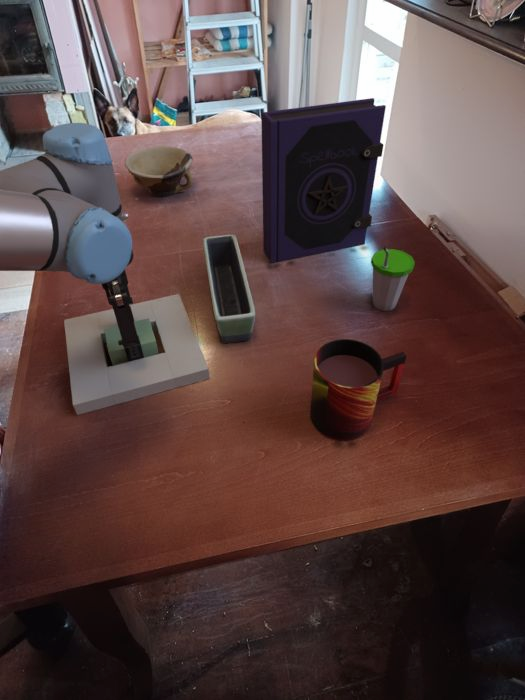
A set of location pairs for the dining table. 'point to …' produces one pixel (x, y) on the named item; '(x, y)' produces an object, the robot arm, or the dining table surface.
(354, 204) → the book
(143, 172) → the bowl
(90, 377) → the base pad
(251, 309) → the planter
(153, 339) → the green block
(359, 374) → the mug
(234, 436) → the dining table surface
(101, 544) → the dining table surface
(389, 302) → the cup
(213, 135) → the dining table surface
